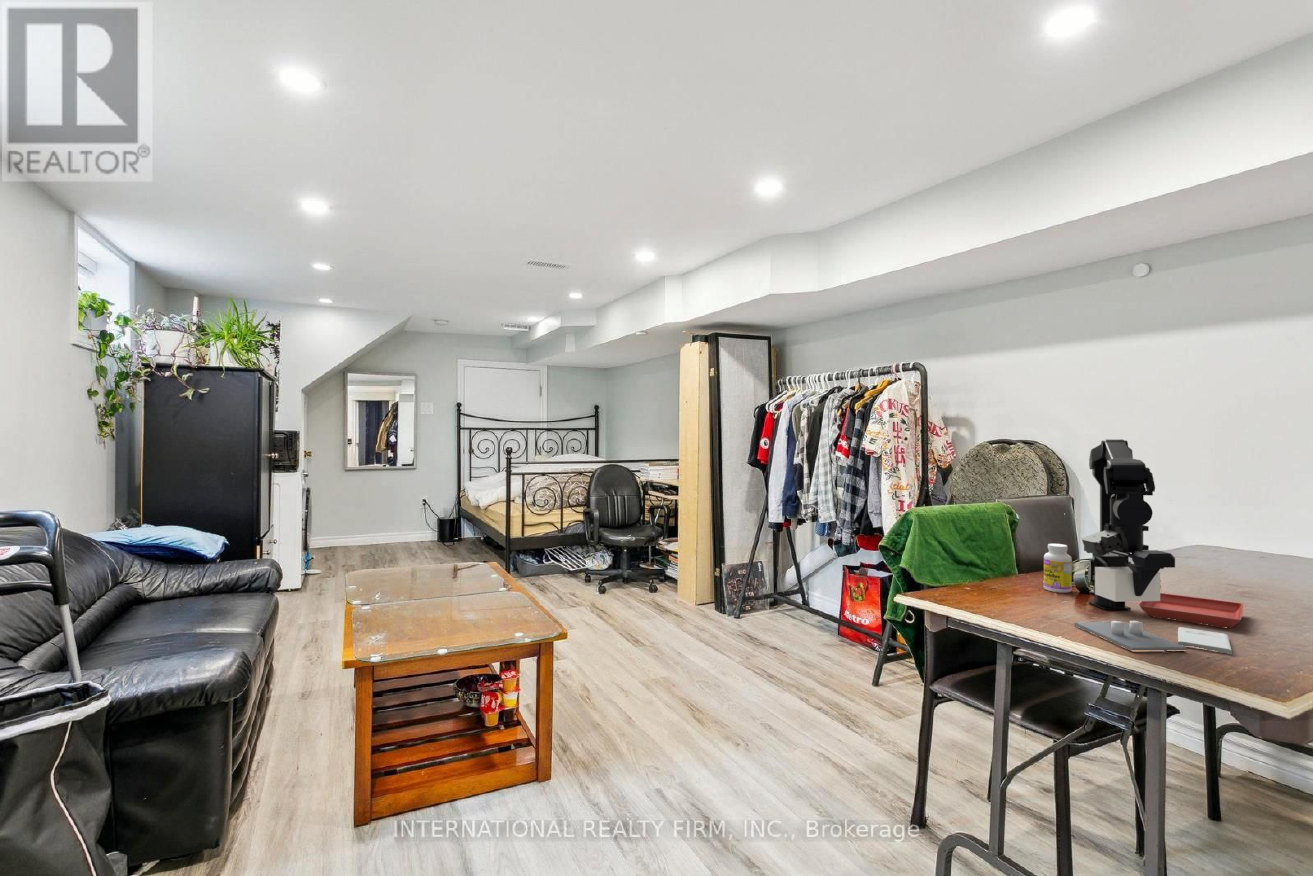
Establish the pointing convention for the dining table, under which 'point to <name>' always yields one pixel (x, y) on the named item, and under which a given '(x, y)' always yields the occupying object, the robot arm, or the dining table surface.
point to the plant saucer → (1195, 610)
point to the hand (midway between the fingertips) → (1126, 592)
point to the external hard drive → (1204, 640)
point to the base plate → (1129, 635)
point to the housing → (1123, 585)
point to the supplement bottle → (1057, 569)
